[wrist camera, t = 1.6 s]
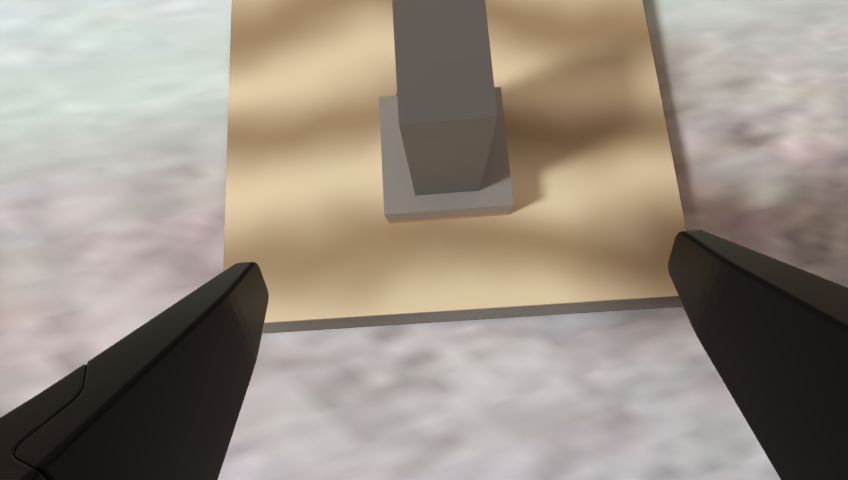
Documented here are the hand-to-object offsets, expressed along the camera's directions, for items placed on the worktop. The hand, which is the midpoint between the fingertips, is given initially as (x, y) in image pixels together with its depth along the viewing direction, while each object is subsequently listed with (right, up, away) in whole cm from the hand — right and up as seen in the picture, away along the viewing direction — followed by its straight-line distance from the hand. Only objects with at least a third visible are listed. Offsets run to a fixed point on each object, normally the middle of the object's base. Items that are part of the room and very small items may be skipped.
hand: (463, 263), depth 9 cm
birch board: (0, +6, +15) cm, 16 cm away
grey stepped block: (0, +4, +13) cm, 14 cm away
